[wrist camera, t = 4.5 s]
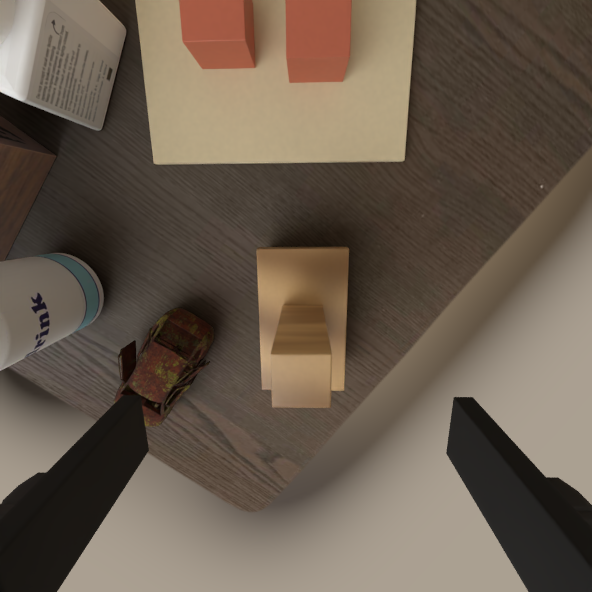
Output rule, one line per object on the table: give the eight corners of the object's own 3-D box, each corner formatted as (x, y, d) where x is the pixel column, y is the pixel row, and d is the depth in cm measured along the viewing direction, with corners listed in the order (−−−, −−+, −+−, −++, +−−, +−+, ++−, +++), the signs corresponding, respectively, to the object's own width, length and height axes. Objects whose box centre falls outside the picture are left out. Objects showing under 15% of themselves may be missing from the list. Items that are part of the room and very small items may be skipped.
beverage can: (104, 334, 30) (-23, 410, 19) (31, 311, 30) (-144, 375, 18) (116, 265, 28) (-14, 302, 17) (39, 240, 28) (-149, 261, 16)
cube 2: (344, 18, 23) (352, -22, 19) (342, 82, 24) (350, 56, 20) (288, 19, 23) (285, -20, 19) (289, 83, 24) (286, 58, 20)
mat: (421, -103, 21) (425, -112, 21) (402, 161, 26) (404, 160, 25) (128, -92, 22) (123, -100, 21) (156, 164, 26) (153, 163, 26)
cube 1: (253, 3, 23) (242, -40, 19) (255, 68, 24) (245, 40, 20) (197, 5, 23) (175, -38, 19) (202, 69, 24) (182, 41, 20)
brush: (262, 244, 28) (228, 269, 15) (343, 243, 27) (374, 269, 15) (266, 369, 31) (241, 474, 18) (339, 370, 30) (362, 476, 18)
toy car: (163, 289, 29) (136, 304, 24) (230, 329, 30) (215, 352, 25) (109, 387, 32) (75, 418, 27) (171, 422, 32) (148, 458, 28)
